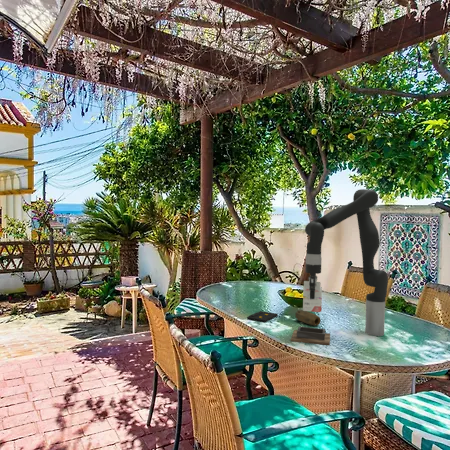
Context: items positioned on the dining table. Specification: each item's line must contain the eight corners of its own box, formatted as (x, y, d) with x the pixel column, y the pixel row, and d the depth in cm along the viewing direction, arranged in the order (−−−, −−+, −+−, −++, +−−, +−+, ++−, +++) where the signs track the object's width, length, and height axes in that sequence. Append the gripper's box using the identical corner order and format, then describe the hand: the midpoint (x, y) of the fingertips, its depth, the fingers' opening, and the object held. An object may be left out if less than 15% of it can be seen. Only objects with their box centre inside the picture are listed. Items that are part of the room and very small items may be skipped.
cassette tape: (260, 314, 239) (260, 310, 239) (277, 316, 233) (278, 313, 233) (246, 320, 224) (246, 316, 224) (265, 323, 218) (265, 319, 218)
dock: (294, 331, 202) (294, 324, 201) (330, 335, 197) (330, 327, 197) (290, 341, 186) (291, 332, 186) (329, 345, 181) (330, 336, 181)
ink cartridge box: (321, 310, 192) (322, 280, 192) (320, 312, 187) (321, 282, 187) (304, 308, 195) (305, 279, 195) (302, 310, 190) (303, 280, 190)
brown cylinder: (293, 321, 222) (293, 309, 222) (301, 319, 226) (301, 308, 226) (313, 327, 210) (314, 315, 210) (322, 325, 214) (322, 313, 214)
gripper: (306, 261, 198) (305, 294, 199) (304, 264, 185) (303, 300, 185) (321, 262, 196) (320, 295, 197) (320, 265, 183) (319, 301, 183)
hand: (312, 297), depth 191 cm, fingers closed on ink cartridge box, 5 cm apart
